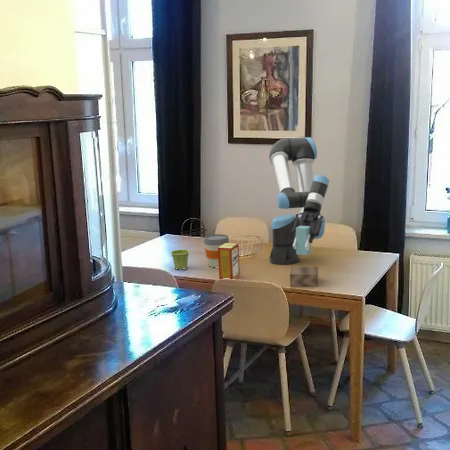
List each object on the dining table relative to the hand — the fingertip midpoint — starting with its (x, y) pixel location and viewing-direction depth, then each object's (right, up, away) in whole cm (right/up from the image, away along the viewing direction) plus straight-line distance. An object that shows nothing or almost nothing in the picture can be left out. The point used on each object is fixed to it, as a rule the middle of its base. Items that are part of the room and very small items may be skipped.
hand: (300, 247), depth 282 cm
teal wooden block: (+2, -3, +4) cm, 5 cm away
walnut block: (+3, -16, +7) cm, 18 cm away
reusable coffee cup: (-37, -11, +42) cm, 57 cm away
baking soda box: (-31, -15, +21) cm, 40 cm away
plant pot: (-55, -12, +40) cm, 69 cm away
